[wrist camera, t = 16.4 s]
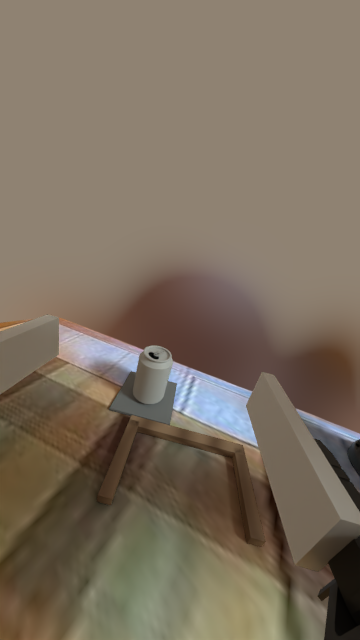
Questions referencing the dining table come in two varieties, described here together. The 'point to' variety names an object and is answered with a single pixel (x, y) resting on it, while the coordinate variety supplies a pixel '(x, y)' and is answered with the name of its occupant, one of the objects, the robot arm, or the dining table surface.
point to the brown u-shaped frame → (197, 441)
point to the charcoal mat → (132, 406)
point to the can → (152, 374)
